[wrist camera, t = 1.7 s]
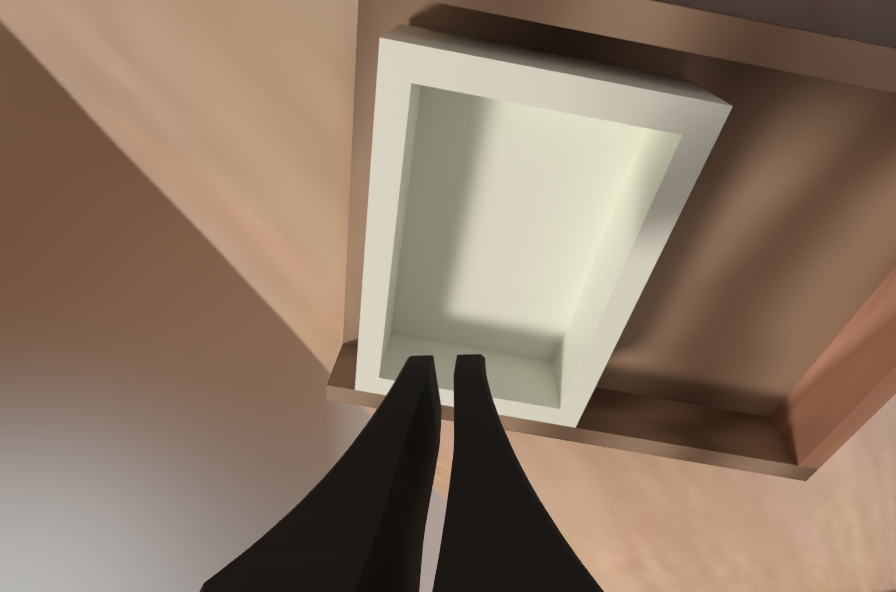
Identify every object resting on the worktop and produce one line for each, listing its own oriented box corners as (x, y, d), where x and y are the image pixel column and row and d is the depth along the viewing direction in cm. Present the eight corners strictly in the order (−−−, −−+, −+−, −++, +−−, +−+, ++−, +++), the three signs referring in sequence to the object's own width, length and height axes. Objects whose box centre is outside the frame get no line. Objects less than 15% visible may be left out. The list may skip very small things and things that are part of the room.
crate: (689, 79, 16) (732, 106, 13) (565, 371, 24) (575, 427, 21) (400, 23, 16) (379, 37, 13) (371, 337, 24) (354, 390, 21)
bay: (1050, 79, 17) (1188, 108, 13) (767, 418, 27) (805, 481, 24) (368, -58, 16) (335, -63, 13) (347, 344, 26) (326, 399, 23)
